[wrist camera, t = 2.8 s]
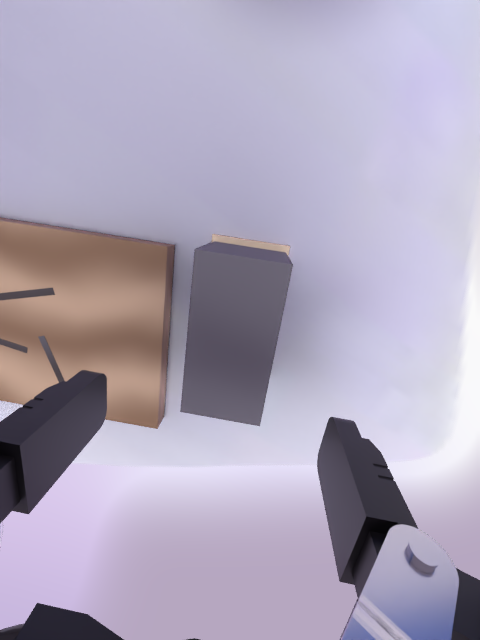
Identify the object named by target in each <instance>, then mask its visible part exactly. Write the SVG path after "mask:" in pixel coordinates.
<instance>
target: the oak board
mask: <svg viewBox="0 0 480 640" xmlns="http://www.w3.org/2000/svg"><path fill="white" fill-rule="evenodd" d="M174 250H175V245H172V244H166V243H160V242H153V241H147V240H140V239H134V238H128V237H121V236H115V235H108V234H102V233H96V232H89V231H83V230H77V229H70V228H64V227H57V226H51V225H45V224H38V223H32V222H25V221H19V220H13V219H6V218H0V400H1V401H7V402H12V403H18V404H23V405H24V404H26V403H27V402H28V401H30V400H31V399H34V397H35V396H36V395H38V394H39V393H41V392H42V391H43V390H45V389H46V388H48V387H50V386H53V385H55V384H57V383H60V382H62V381H68V380H69V379H70V378H72V377H73V376H74V375H76V374H77V373H78V372H80V371H81V370H87V371H92V372H98V373H103V374H105V375H106V377H107V413H106V417H105V419H106V420H112V421H117V422H123V423H128V424H134V425H139V426H145V427H150V428H156V429H158V427H159V425H160V423H161V421H162V419H163V417H164V407H165V392H166V376H167V360H168V345H169V329H170V313H171V297H172V282H173V266H174Z"/></svg>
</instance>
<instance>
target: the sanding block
mask: <svg viewBox="0 0 480 640" xmlns="http://www.w3.org/2000/svg"><path fill="white" fill-rule="evenodd" d="M289 249H290V246H287V245H281V244H274V243H268V242H261V241H255V240H248V239H242V238H236V237H229V236H223V235H216V234H212V243H209V244H207V245H204V246H202V247H199V248H197V249H195V252H194V264H193V275H192V286H191V298H190V309H189V321H188V332H187V343H186V355H185V366H184V378H183V389H182V400H181V412H184V413H190V414H196V415H201V416H207V417H212V418H218V419H223V420H229V421H234V422H240V423H246V424H251V425H257V426H260V422H261V417H262V413H263V408H264V403H265V398H266V393H267V388H268V383H269V378H270V373H271V369H272V364H273V359H274V354H275V349H276V344H277V339H278V334H279V330H280V325H281V320H282V315H283V310H284V305H285V300H286V295H287V290H288V286H289V281H290V276H291V271H292V266H293V264H292V262H291V261H290V259H289V257H288V255H289Z"/></svg>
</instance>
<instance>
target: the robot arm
mask: <svg viewBox="0 0 480 640" xmlns="http://www.w3.org/2000/svg"><path fill="white" fill-rule="evenodd" d="M106 413H107V377H106V375H105V374H103V373H98V372H92V371H87V370H81V371H80V372H78V373H77V374H76V375H74V376H73V377H72V378H70V379H69V380H68V381H62V382H60V383H57V384H55V385H53V386H50V387H48V388H46V389H45V390H43V391H42V392H41V393H39V394H38V395H36V396H35V397H34V399H31V400H30V401H28V402H27V403H26V404H24V405H23V407H22V408H21V407H20V408H19V409H17V410H16V411H15V412H13V413H12V414H11V415H9V416H8V417H6V418H5V419H4V420H2V421H1V422H0V548H1V539H2V533H3V522H2V521H3V520H4V519H5V518H6V517H7V515H8V514H9V513H10V512H11V511H16V512H21V513H25V514H29V513H30V512H31V511H32V510H33V508H34V507H35V506H36V505H37V504H38V502H39V501H40V500H41V499H42V498H43V496H44V495H45V494H46V492H48V490H49V489H50V488H51V487H52V485H53V484H54V483H55V482H56V481H57V480H58V478H59V477H60V476H61V475H62V474H63V472H64V471H65V470H66V469H67V467H68V466H69V465H70V464H71V463H72V461H73V460H74V459H75V458H76V457H77V455H78V454H79V453H80V452H81V451H82V449H83V448H84V447H85V446H86V445H87V443H88V442H89V441H90V440H91V439H92V437H93V436H94V435H95V434H96V433H97V431H98V430H99V429H100V428H101V426H102V424H103V422H104V420H105V417H106ZM317 467H318V474H319V480H320V485H321V490H322V494H323V500H324V505H325V510H326V515H327V520H328V525H329V530H330V535H331V540H332V545H333V551H334V556H335V561H336V566H337V571H338V576H339V581H340V582H344V583H349V584H354V585H355V588H356V592H357V596H358V599H357V601H356V604H355V606H354V608H353V610H352V613H351V615H350V617H349V619H348V622H347V624H346V626H345V628H344V631H343V633H342V635H341V638H340V640H480V580H478V579H476V578H474V577H472V576H470V575H468V574H466V573H464V572H462V571H460V570H459V569H457V568H456V567H455V565H454V563H453V561H452V560H451V558H450V557H449V555H448V554H447V553H446V551H445V550H444V549H443V548H442V547H441V546H440V545H439V544H438V543H437V542H436V541H435V540H434V539H433V538H431V537H430V536H429V535H427V534H426V533H424V532H423V531H421V530H419V529H418V527H417V525H416V523H415V521H414V519H413V517H412V515H411V513H410V511H409V509H408V507H407V505H406V503H405V501H404V499H403V497H402V495H401V492H400V490H399V488H398V486H397V485H396V482H395V481H393V476H392V474H391V472H390V470H389V469H388V466H387V464H386V462H385V460H384V458H383V456H382V454H381V452H380V451H379V450H378V449H377V448H376V447H375V446H374V444H373V443H372V442H371V441H370V440H369V439H364V438H361V435H360V433H359V431H358V428H357V426H356V424H355V422H354V421H351V420H346V419H340V418H335V417H330V418H329V420H328V423H327V426H326V430H325V433H324V436H323V439H322V443H321V446H320V449H319V453H318V461H317ZM0 640H123V639H122V638H121V637H119V636H118V635H116V634H115V633H113V632H112V631H111V630H109V629H108V628H106V627H105V626H103V625H102V624H100V623H99V622H98V621H96V620H95V619H93V618H92V617H90V616H89V615H88V614H84V613H79V612H75V611H70V610H66V609H61V608H57V607H52V606H48V605H44V604H39V603H37V604H36V606H35V608H34V609H33V611H32V612H31V614H30V616H29V618H28V619H27V621H26V622H25V624H19V625H16V626H12V627H8V628H5V629H2V630H0ZM188 640H199V639H188Z"/></svg>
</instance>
